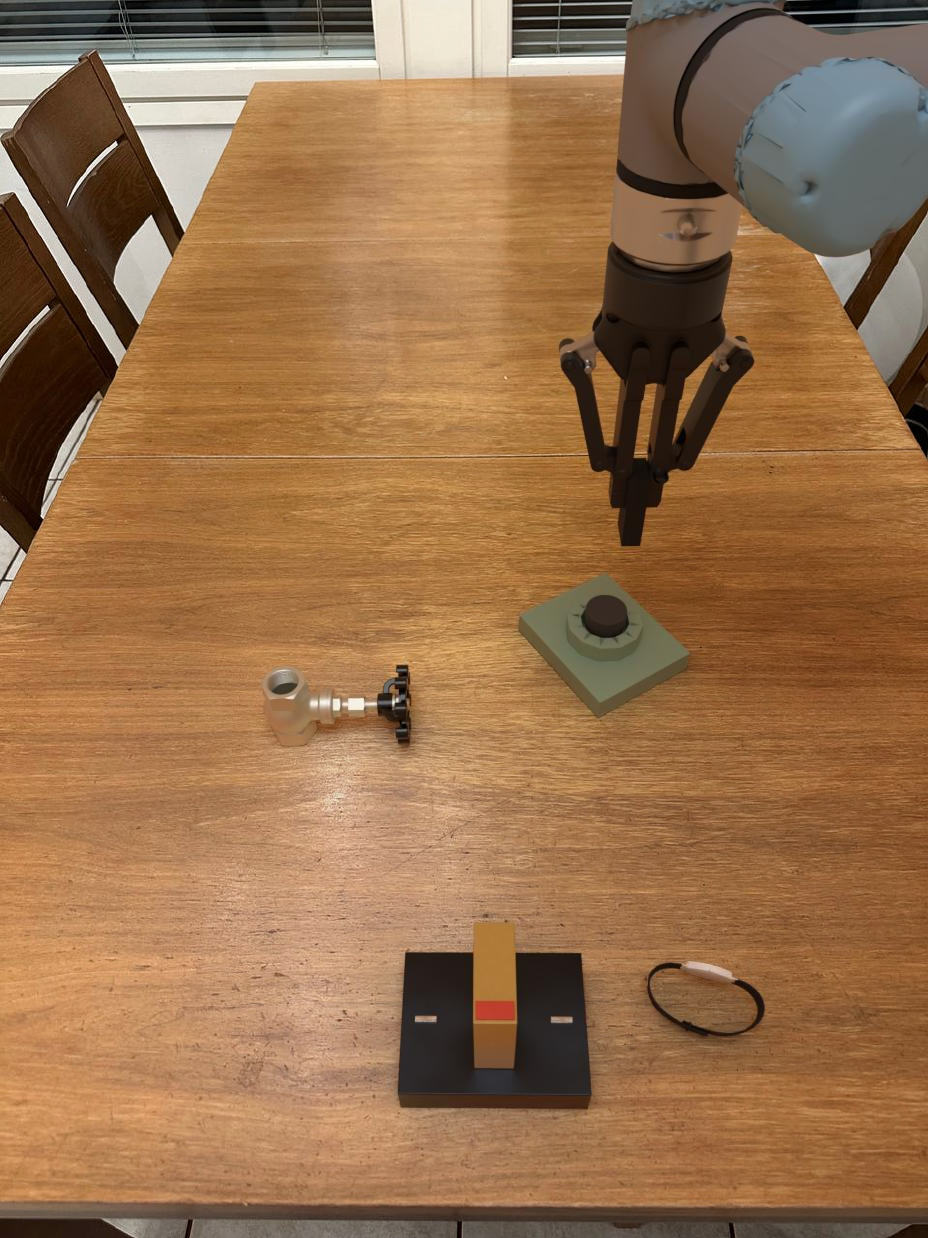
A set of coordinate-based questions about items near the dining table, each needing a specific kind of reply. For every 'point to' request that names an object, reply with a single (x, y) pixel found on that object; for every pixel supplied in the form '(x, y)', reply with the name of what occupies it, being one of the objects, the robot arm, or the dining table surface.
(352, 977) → the dining table surface
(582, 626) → the doorbell
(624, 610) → the bell button
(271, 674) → the valve
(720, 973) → the watch
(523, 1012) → the plate
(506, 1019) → the lock knob
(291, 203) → the dining table surface
